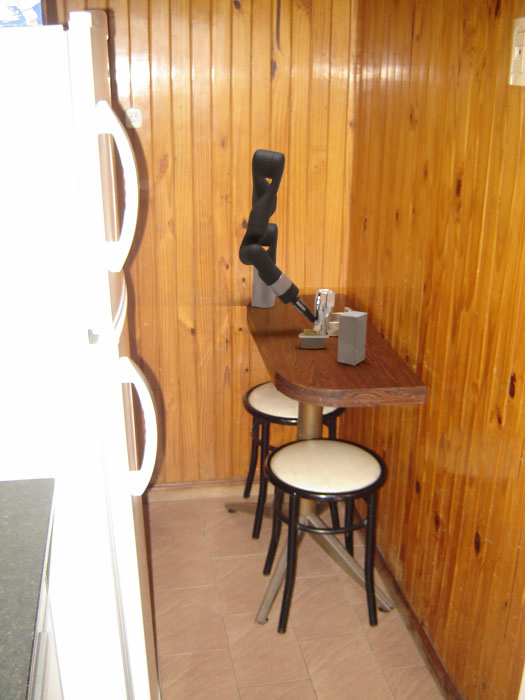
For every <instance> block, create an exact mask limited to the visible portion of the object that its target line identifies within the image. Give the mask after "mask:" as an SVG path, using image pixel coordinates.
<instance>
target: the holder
mask: <svg viewBox="0 0 525 700" xmlns="http://www.w3.org/2000/svg"><path fill="white" fill-rule="evenodd" d="M348 311H353V309H352V308H350V307H349V306H347V307H346V306H345V307H343V312H332V315H331V319H330V322H328V334H327V335H328V336H338V335H339V315H340V314H343V313H344V312H348Z"/></svg>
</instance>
